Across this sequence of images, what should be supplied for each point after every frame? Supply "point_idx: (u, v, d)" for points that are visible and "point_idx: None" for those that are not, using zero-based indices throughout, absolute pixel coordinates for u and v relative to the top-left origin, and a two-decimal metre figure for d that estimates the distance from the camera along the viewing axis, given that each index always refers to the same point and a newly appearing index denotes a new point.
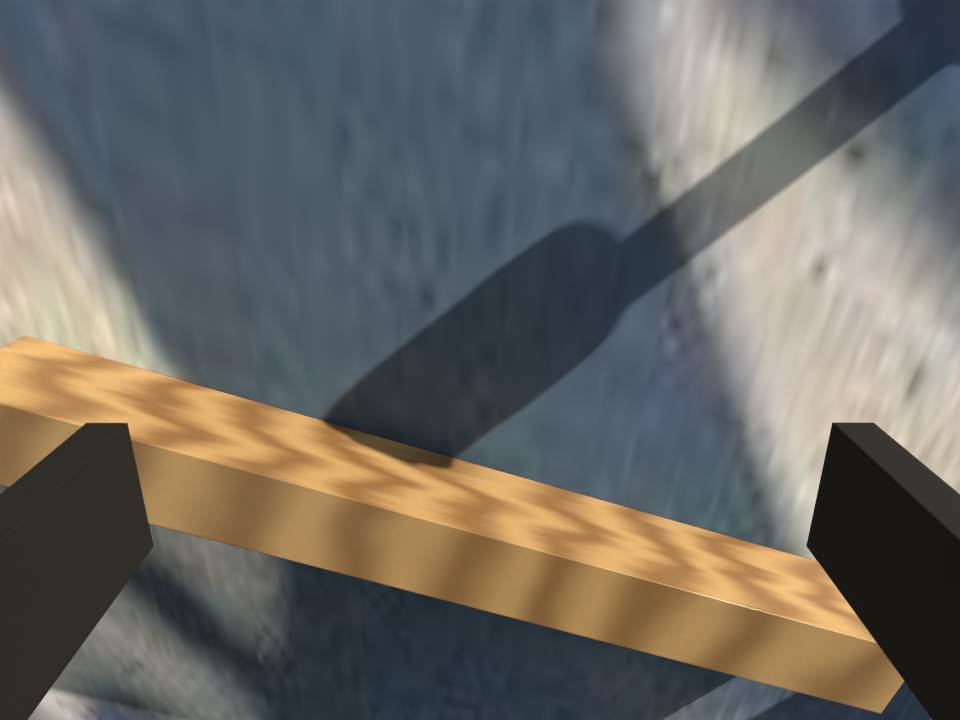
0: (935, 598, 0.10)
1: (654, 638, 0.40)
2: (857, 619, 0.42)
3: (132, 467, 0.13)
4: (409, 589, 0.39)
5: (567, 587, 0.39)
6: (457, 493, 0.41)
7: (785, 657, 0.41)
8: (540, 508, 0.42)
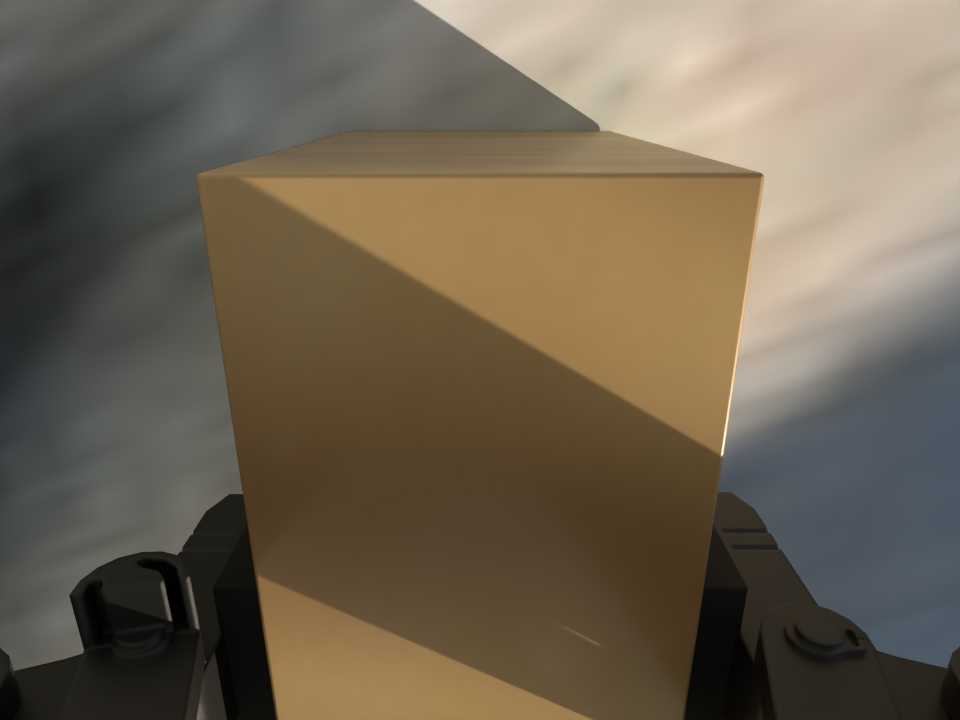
0: None
1: None
2: None
3: None
4: None
5: None
6: None
7: None
8: None
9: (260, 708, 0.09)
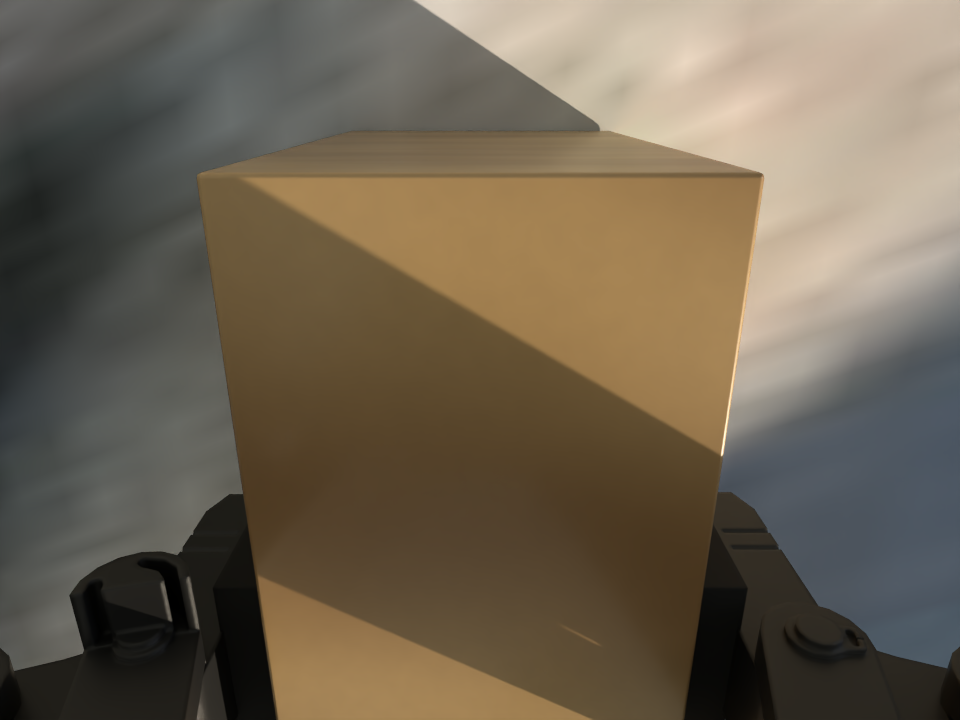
0: None
1: None
2: None
3: None
4: None
5: None
6: None
7: None
8: None
9: (260, 708, 0.09)
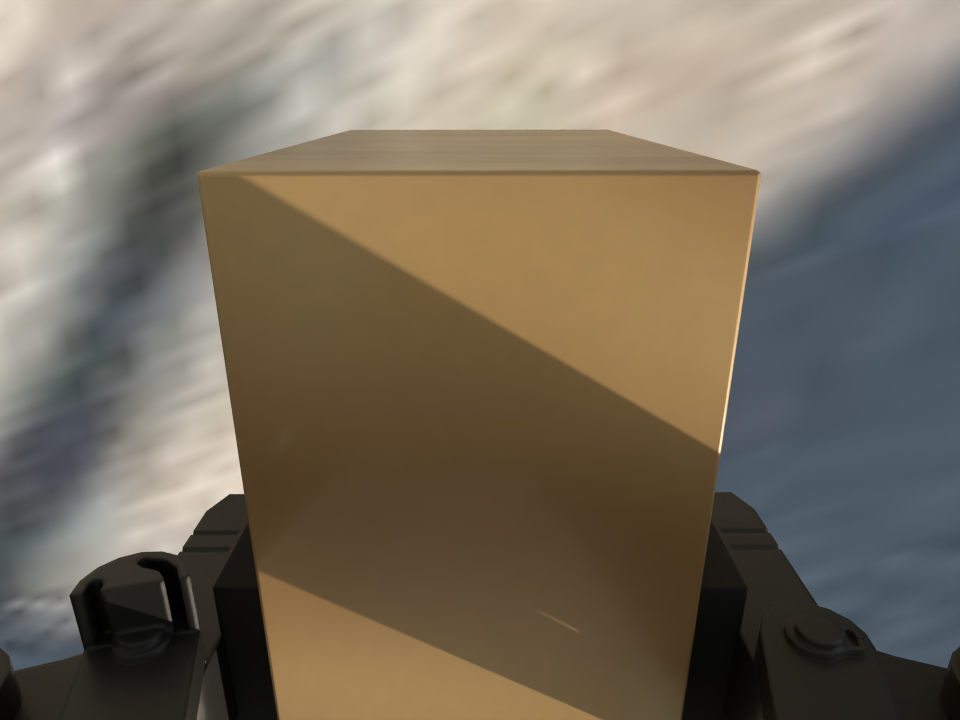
0: None
1: None
2: None
3: None
4: None
5: None
6: None
7: None
8: None
9: (260, 708, 0.09)
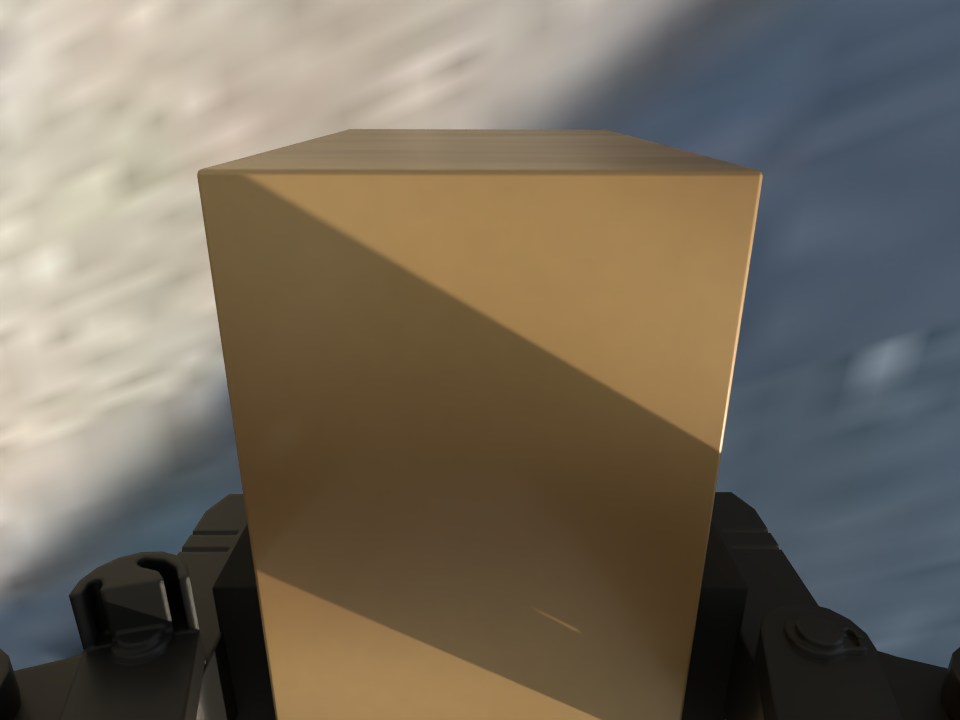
0: None
1: None
2: None
3: None
4: None
5: None
6: None
7: None
8: None
9: (260, 708, 0.09)
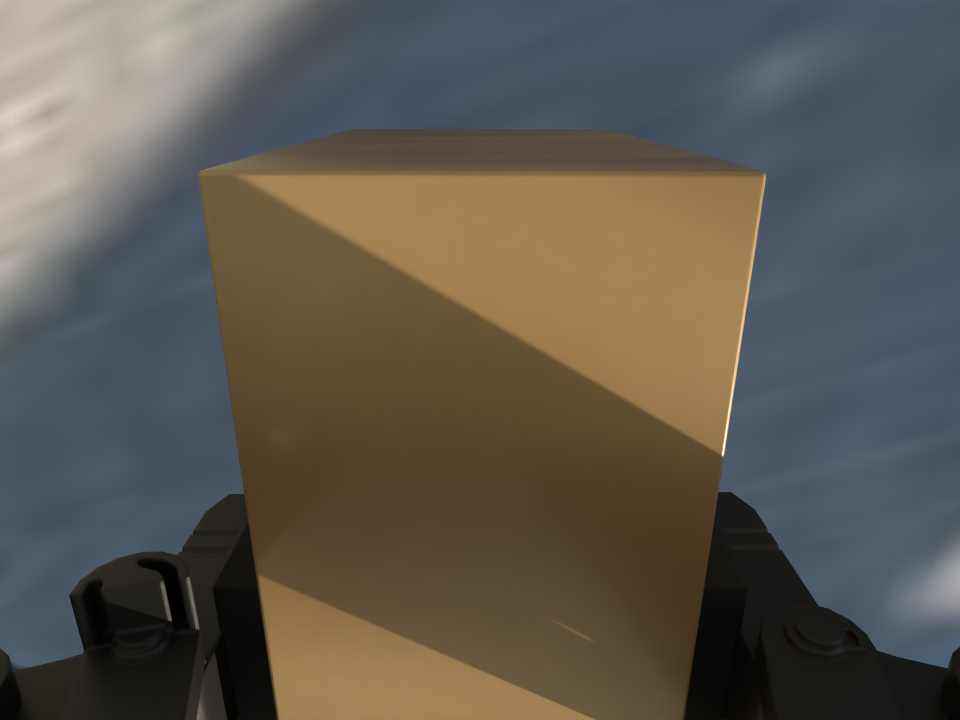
0: None
1: None
2: None
3: None
4: None
5: None
6: None
7: None
8: None
9: (260, 708, 0.09)
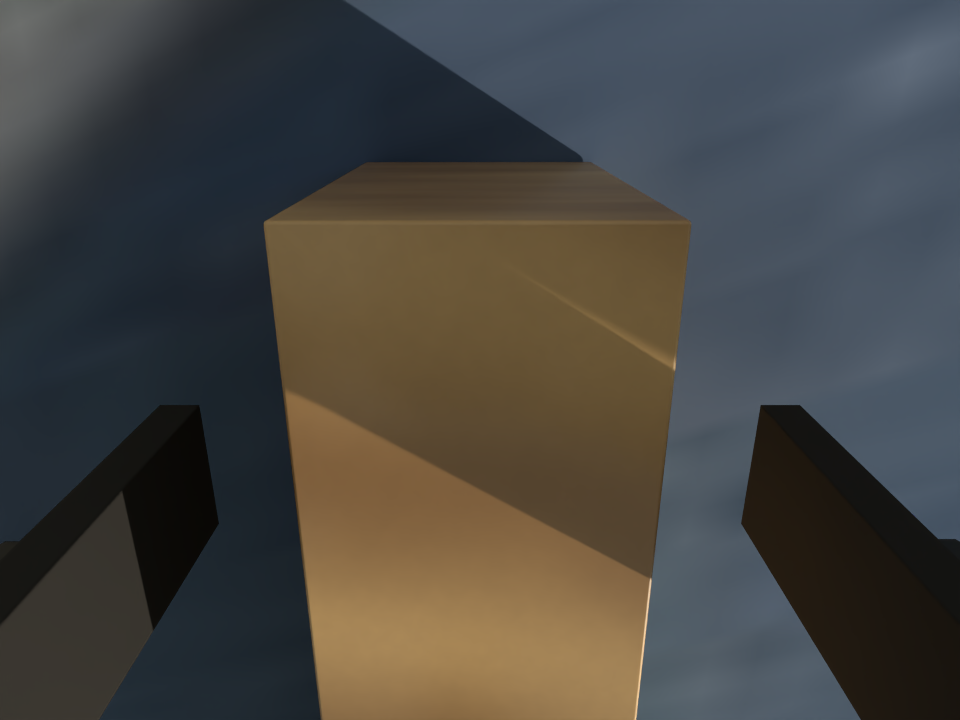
0: (837, 563, 0.10)
1: None
2: None
3: (202, 447, 0.13)
4: None
5: None
6: None
7: None
8: None
9: None
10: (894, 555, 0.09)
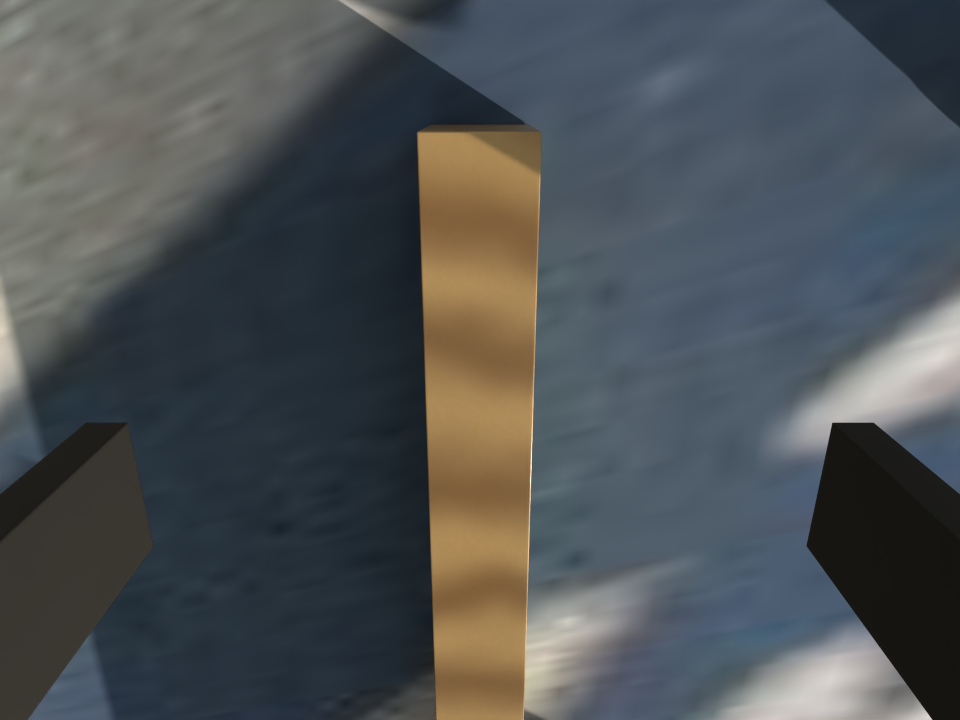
0: (935, 598, 0.10)
1: None
2: None
3: (132, 467, 0.13)
4: (436, 648, 0.37)
5: None
6: None
7: None
8: None
9: None
10: None
